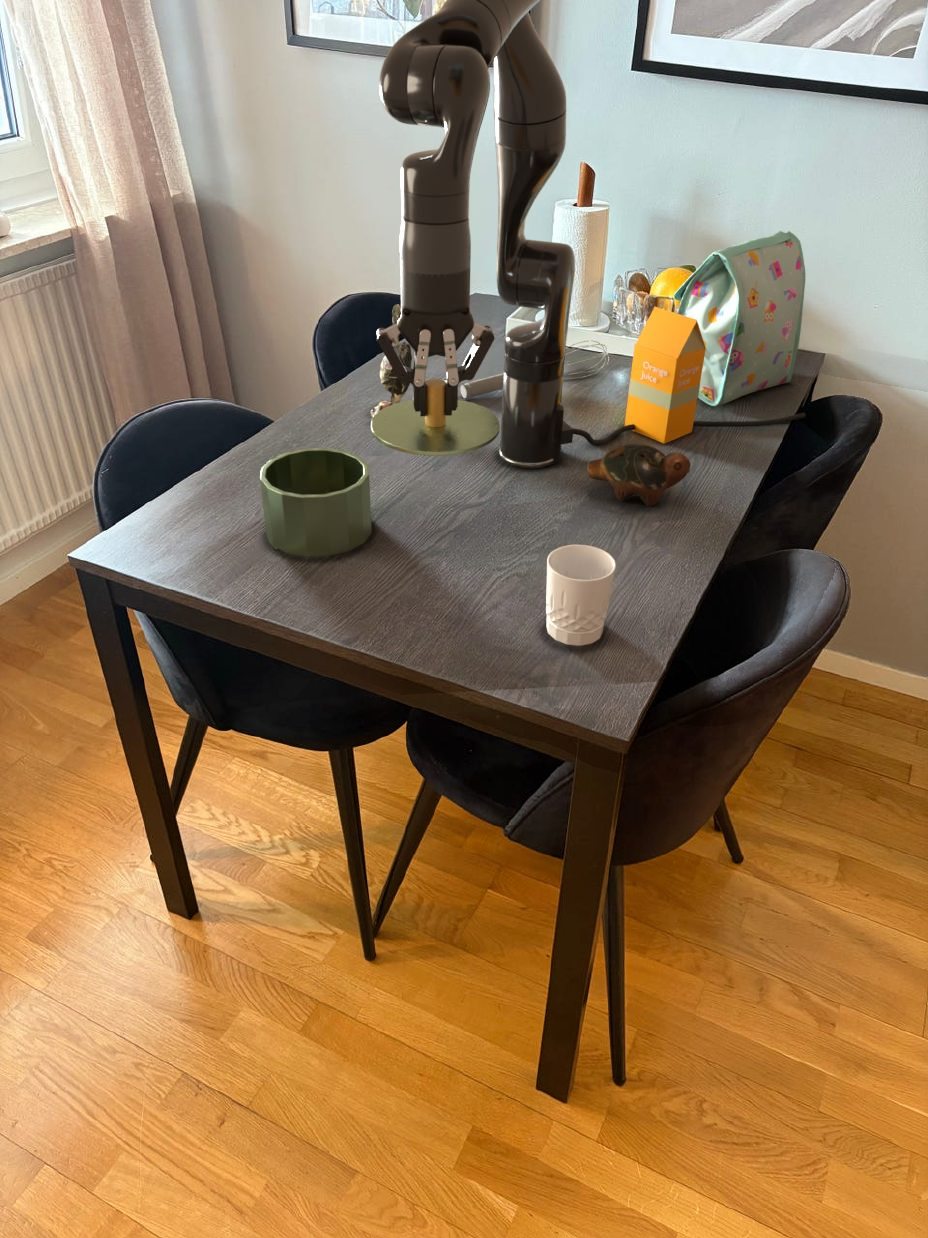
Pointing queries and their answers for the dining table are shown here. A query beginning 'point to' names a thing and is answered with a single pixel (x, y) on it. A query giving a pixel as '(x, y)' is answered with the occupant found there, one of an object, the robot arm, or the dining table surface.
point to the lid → (435, 425)
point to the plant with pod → (388, 374)
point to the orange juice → (665, 376)
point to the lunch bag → (747, 315)
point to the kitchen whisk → (497, 380)
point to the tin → (316, 502)
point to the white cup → (578, 593)
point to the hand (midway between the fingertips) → (435, 412)
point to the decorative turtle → (639, 471)
